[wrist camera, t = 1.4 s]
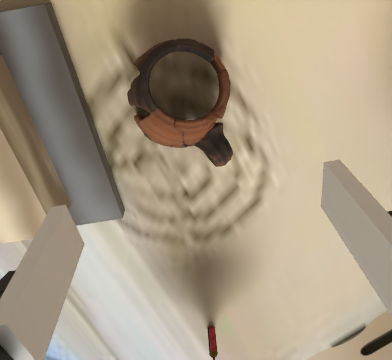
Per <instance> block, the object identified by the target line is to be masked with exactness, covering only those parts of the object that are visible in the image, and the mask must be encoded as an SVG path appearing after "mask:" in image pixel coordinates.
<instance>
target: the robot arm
mask: <svg viewBox="0 0 392 360" xmlns="http://www.w3.org/2000/svg"><path fill="white" fill-rule="evenodd" d="M321 207H322V209H323V210H324V212H325V213H326V215H327V216H328V218H329V220H330V221H331V223H332V224H333V226H334V227H335V229H336V231H337V232H338V234H339V235H340V237H341V238H342V240H343V241H344V243H345V245H346V246H347V248H348V249H349V251H350V252H351V254H352V255H353V257H354V259H355V260H356V262H357V263H358V265H359V266H360V268H361V270H362V271H363V273H364V274H365V276H366V277H367V279H368V280H369V282H370V284H371V285H372V287H373V288H374V290H375V291H376V293H377V294H378V296H379V298H380V299H381V301H382V302H383V304H384V305H385V307H386V309H387V310H388V312H389V313H390V315H391V316H392V211H389V212H387V211H386V210H385V209H384V208H383V207H382V206H381V205H380V204H379V202H378V201H377V200H376V199H375V198H374V197H373V196H372V195H371V194H370V193H369V191H368V190H367V189H366V188H365V187H364V186H363V185H362V184H361V183H360V182H359V181H358V179H357V178H356V177H355V176H354V175H353V174H352V173H351V172H350V171H349V170H348V168H347V167H346V166H345V165H344V164H343V163H342V162H341V161H340V160H335V161H329V162H324V170H323V185H322V200H321ZM83 247H84V242H83V240H82V238H81V236H80V233H79V231H78V229H77V227H76V225H75V223H74V221H73V219H72V217H71V215H70V213H69V211H68V209H67V206H66V205H61V206H55V207H51V208H50V210H49V212H48V214H47V215H46V217H45V219H44V221H43V223H42V224H41V226H40V228H39V230H38V232H37V233H36V235H35V237H34V239H33V241H32V242H31V244H30V246H29V248H28V250H27V251H26V253H25V255H24V257H23V259H22V260H21V262H20V264H19V266H18V268H17V270H15V271H9V272H8V273H7V274H6V275H5V276H4V277H3V278H2V279H1V280H0V360H44V358H45V355H46V352H47V349H48V346H49V344H50V341H51V338H52V335H53V332H54V329H55V326H56V324H57V321H58V318H59V315H60V312H61V309H62V307H63V304H64V301H65V298H66V295H67V292H68V289H69V287H70V284H71V281H72V278H73V275H74V272H75V269H76V267H77V264H78V261H79V258H80V255H81V252H82V249H83Z"/></svg>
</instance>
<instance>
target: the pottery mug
mask: <svg viewBox="0 0 392 360" xmlns="http://www.w3.org/2000/svg"><path fill="white" fill-rule="evenodd" d="M175 51H186V52H192V53H195V54H197V55H199V56H201V57H202V58H204V59H205V60H207V61H208V62H210V63H211V64H212V66H213V67H214V69H215V70H216V72H217V74H218V75H217V77H218V81H219V96H218V100H217V102H216V104H215V106H214V107H213V108H212V110H211V111H210V112H209V113H208V114H207V115H205V116H203V117H201V118H199V119H195V120H179V119H176V118H174V117H171V116H169V115H168V114H166V113H165V112H163V111H162V110H161V109H160V108H159V107H158V106H157V105H156V103H155V102H154V100H153V98H152V95H151V92H150V86H149V79H150V73H151V70H152V68H153V66H154V65H155V63H156V62H157V61H158V60H159V59H160V58H161V57H163V56H165V55H166V54H169V53H171V52H175ZM134 65H135V66H136V67H137V68H138V70H139V71H140V75H139V76H138V77H136V78H135V79H134V81H133V82H132V84H131V89H130V90H129V91H128V94H127V95H128V101H129V104H130V105H131V106H133V105H135V106H137V107H139V108H142V109H144V110H146V111H147V112H149V113H150V114H149V115H147V116H146V117H145V118H144V119H142V118H141V116H138V115H135V116H134V119H135V121H136V123H137V125H138V126H139V128H140V129H141V130H142V131H143V133H144V135H145V136H146V137H148V138H149V139H150V140H152V141H154V142H156V143H158V144H161V145H164V146H169V147H176V148H184V147H188V146H193V145H194V146H196V147H198V148H200V149H201V150H203V151H204V153H205V154H206V156H207V157H208V158H209V159H210V161H211V162H212V163H213V164H214V165H215V166H217V167H218V166H224V165H226V164H227V162H228V161H230V160H231V157H232V154H233V151H232V148H231V146H230V144H229V142H228V140H227V139H226V138H225V136H224V134H223V123H221V122H218V123H215V122H216V120H217V119H218V118H221V119H222V117H223V116H224V113H225V110H226V105H227V102H228V99H229V96H230V80H229V75H228V72H227V70H226V69H225V67H224V65H223V64H222V62H221V61H220V60H219V58H218V57H217V56H216V55H215V54H214V50H213V49H212V48H210V47H208V46H207V45H205V44H203V43H200V42H198V41H195V40H192V39H176V40H169V41H165V42H163V43H159V44H157V45H155V46H154V47H152V48H151V49H150V50H148V51H147V52H146V53H144V54H143V55H142V56H141V57H139V58H138V59H137V60H136V61H135V62H134Z"/></svg>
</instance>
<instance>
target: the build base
mask: <svg viewBox="0 0 392 360" xmlns="http://www.w3.org/2000/svg"><path fill="white" fill-rule="evenodd" d="M61 205H66V206H67V209H68V211H69V213H70V215H71V217H72V219H73V221H74V223H75V225H83V224H89V223H96V222H102V221H108V220H115V219H121V218H123V215H124V211H125V210H124V207H123V204H122V201H121V198H120V196H119V193H118V190H117V187H116V184H115V182H114V179H113V176H112V173H111V170H110V168H109V165H108V162H107V159H106V156H105V154H104V151H103V148H102V145H101V142H100V140H99V137H98V134H97V131H96V128H95V125H94V123H93V120H92V117H91V114H90V111H89V109H88V106H87V103H86V100H85V97H84V95H83V92H82V89H81V86H80V83H79V81H78V78H77V75H76V72H75V69H74V67H73V64H72V61H71V58H70V55H69V52H68V50H67V47H66V44H65V41H64V38H63V36H62V33H61V30H60V27H59V24H58V22H57V19H56V16H55V13H54V10H53V8H52V5H51V3H47V4H42V5H36V6H31V7H26V8H21V9H15V10H10V11H5V12H0V244H1V243H7V242H14V241H20V240H26V239H33V238H34V237H35V235H36V233H37V232H38V230H39V228H40V226H41V224H42V223H43V221H44V219H45V217H46V215H47V214H48V212H49V210H50V208H51V207H55V206H61Z"/></svg>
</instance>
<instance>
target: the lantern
mask: <svg viewBox="0 0 392 360" xmlns="http://www.w3.org/2000/svg"><path fill="white" fill-rule="evenodd" d="M208 339H209V351H210V353H209V354H210V356H211V357H212V358H213V360H215V357H216V356H217V354H218V352H217V345H216V335H215V328H214V327H212V326H211V327H208Z"/></svg>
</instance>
